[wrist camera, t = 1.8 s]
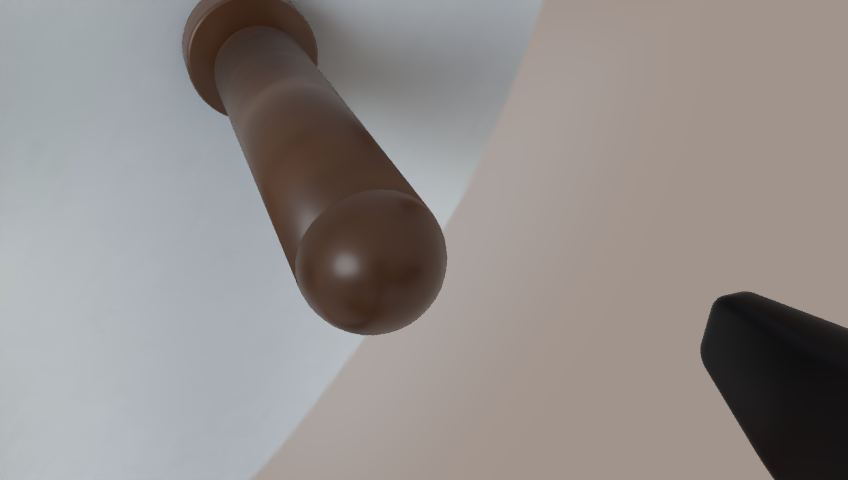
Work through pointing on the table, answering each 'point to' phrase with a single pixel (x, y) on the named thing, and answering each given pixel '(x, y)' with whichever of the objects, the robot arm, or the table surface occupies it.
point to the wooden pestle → (316, 168)
